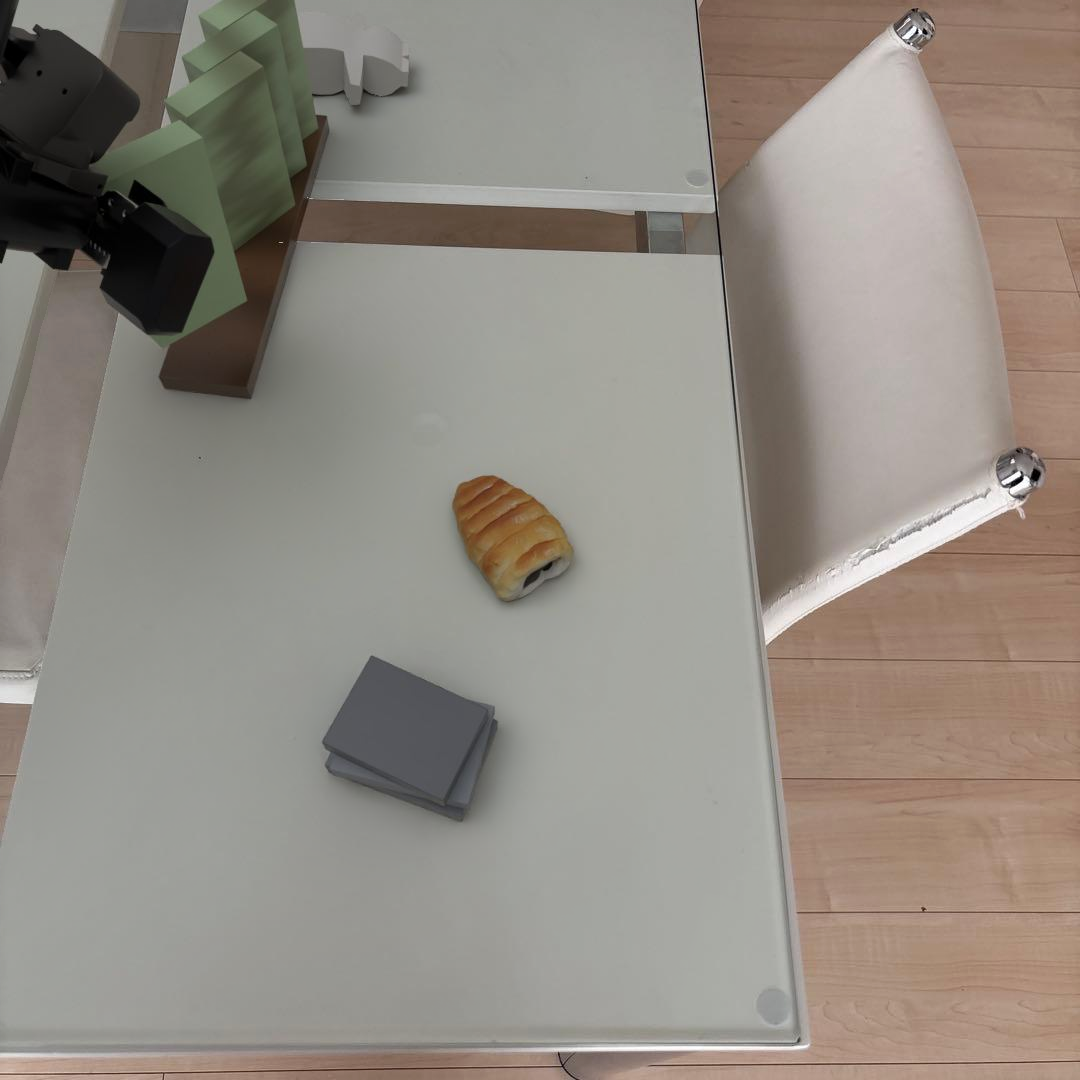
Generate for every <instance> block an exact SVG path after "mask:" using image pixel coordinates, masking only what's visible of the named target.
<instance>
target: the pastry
mask: <svg viewBox="0 0 1080 1080" xmlns="http://www.w3.org/2000/svg"><path fill="white" fill-rule="evenodd" d="M453 497H454V498H453V500H452V504H451V506H452V511H453V513H454V516H455V520H456V523H457V531H458V533H459V536H460V538H461V539H462V542H463V545H464V548H465V554H466V556H467V558H468V560H470V561H471V562H473V563H474V564H475V565H476V566H477V568H478V569H479V570H480V572H481V575H482V576H483V578H484V580H485V581H486V582H487V584H488V585H490V587H491V589H492V590H493V591H494V593H495V596H496V597H497V598H498V599H500V600H501V601H505V602H510V601H514V600H518V599H520V598H523V597H525V596H527V595H529V594H531V593H532V592H533V591H534V590H535V589H537V588H538V587H539V586H540V585H542V583H544V581H546V580H549V579H553V578H555V577H558V576H559V575H561V574H562V573H563V572H565V571H566V570H567V569H568V567H569V566H570V565H571V563H572V561H573V558H574V557H573V556H574V547H573V546H572V544H571V543H570V542H569V537H568V534H567V533H566V531H565V529H564V527H563V526H562V524H561V523H560V521H559V520H558V519H557V517H555V516H554V515H553V514H552V513H551V512H550V511H549V509H548V508H547V507H546V506H545V505H544V504H543V503H541V502H539V501H538V500H537V498H536V497H535V496H533V495H531V494H529V493H527V492H526V491H525V490H523V489H522V488H519V487H516V486H514V485H513V484H511V483H509V482H508V481H507V480H505V479H503V478H502V477H498V476H496V475H495V474H494V475H493V474H491V475H481V476H478V477H475V478H473V479H470V480H468V481H467V480H466V481H463V482H461V483H458V485H457V488H456V489H455V494H454V496H453Z"/></svg>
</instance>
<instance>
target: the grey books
mask: <svg viewBox="0 0 1080 1080" xmlns="http://www.w3.org/2000/svg"><path fill="white" fill-rule="evenodd" d="M495 713H496V706H495V705H492V704H488V703H484V702H480V701H477V700H476V701H475V700H472V699H467V698H465V697H463V696H462V695H461V696H460V695H459V694H456V693H454V692H453V691H450V690H448V689H447V688H444V687H442V686H440V685H437V684H434V683H432V682H430V681H428V680H426V679H425V678H422V677H420V676H418V675H416V674H414V673H411V672H410V671H407V670H405V669H403V668H400V667H399V666H396V665H394V664H392V663H390V662H387V661H386V660H384V659H381V658H379V657H377V656H375V655H370V656H369V658H368V660H367V661H366V663H365V665H364V667H363V669H362V670H361V672H360V674H359V676H358V677H357V679H356V681H355V683H354V684H353V686H352V688H351V690H350V692H349V693H348V695H347V697H346V698H345V700H344V702H343V704H342V705H341V707H340V709H339V711H338V712H337V714H336V716H335V718H334V720H333V722H331V725H330V726H329V727H328V730H327V732H326V733H325V735H324V737H323V739H322V740H321V744H322V745H323V747H324V749H325V750H326V751H328V752H329V754H328V757H327V759H326V760H325V761H326V762H325V763H324V767H325V769H326V770H327V772H328V773H330V774H332V775H333V776H335V777H338V778H342V779H345V780H349V781H350V782H354V783H356V784H359V785H361V786H363V787H366V788H369V789H371V790H374V791H377V792H380V793H382V794H385V795H388V796H391V797H393V798H396V799H399V800H401V801H404V802H406V803H409V804H412V805H414V806H417V807H420V808H422V809H425V810H427V811H429V812H433V813H436V814H438V815H441V816H443V817H445V818H448V819H452V820H454V821H457V822H459V823H461V822H462V821H463V820H464V817H465V814H466V811H468V810H470V807H471V803H472V800H473V796H474V792H475V789H476V785H477V782H478V779H479V777H480V774H481V772H482V769H483V767H484V764H485V761H486V759H487V757H488V754H489V752H490V749H491V746H492V743H493V741H494V739H495V735H496V733H497V730H498V720H497V719H494V718H495V715H496V714H495Z"/></svg>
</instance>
